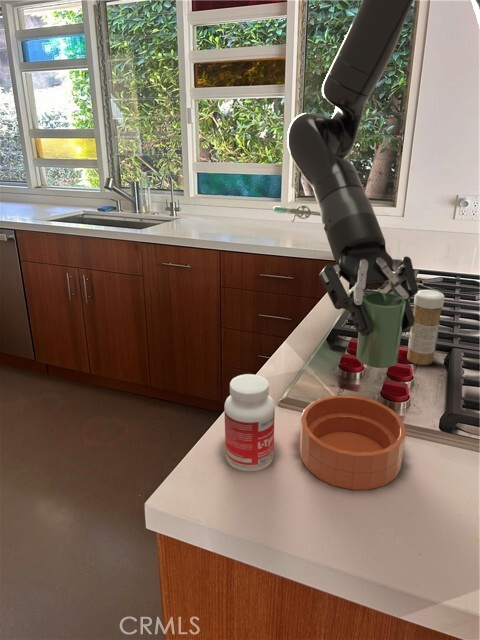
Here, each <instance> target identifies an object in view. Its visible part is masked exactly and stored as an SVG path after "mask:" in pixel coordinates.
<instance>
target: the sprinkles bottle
mask: <svg viewBox="0 0 480 640" xmlns="http://www.w3.org/2000/svg"><path fill="white" fill-rule="evenodd" d="M413 299H414V300H413V304H414V305H413V306H414V307H413V315H414V318H415V321H414V325H413V326H412V327H410V331H409V338H408V345H407V347H408V349H407V355H406V359H407V361H409V362H410V363H412V364H415V365H420V366H428V365H431V364H432V363H433V362H434V355H435V351H436V347H437V341H438V336H439V328H440V321H441V320H440V319H441V313H442V309H443V307H444V303H445V294H443V292H440V291H438V290H433V289H418V292H417V293H416V294H415V295H414V298H413Z"/></svg>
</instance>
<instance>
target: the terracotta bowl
mask: <svg viewBox="0 0 480 640" xmlns="http://www.w3.org/2000/svg"><path fill="white" fill-rule="evenodd" d="M299 431H300V433H299V453H300V459H301V461H302V463H303V464H304V466H305V468H306V469H307V470H308V472H310V473H311V474H313V475H314V476H315V477H316V478H317V479H319V480H320V481H323V482H325V483H327V484H329V485H331V486H334V487H338V488H342V489H347V490H351V491H354V490H355V491H359V490H360V491H366V490H367V491H369V490H373V489H377V488H381V487H384V486H386V485H388V484H390V482H393V480H395V479H396V477H397V476H398V475H399V473H400V471H401V468H402V461H403V454H404V448H405V442H406V425H405V424H404V421H403V419H402V418H401V416H399V414H397V412H395V411H394V410H393V409H392V408H390V407H388V406H386V405H385V404H383V403H382V402H379V401H376V400H373V399H370V398H367V397H362V396H356V395H351V394H350V395H349V394H348V395H347V394H346V395H343V394H341V395H340V394H339V395H336V394H335V395H330V396H325V397H321V398H318V399H317V400H315V401H312V402H310V403H309V404H308V406H306V407H305V408H304V409H303V411H302V414H301V417H300V430H299Z"/></svg>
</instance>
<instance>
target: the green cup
mask: <svg viewBox="0 0 480 640" xmlns="http://www.w3.org/2000/svg"><path fill="white" fill-rule="evenodd" d="M405 304H406V301H405V300H404V299H403V298H402V297H400V296H397V294H396V295H394V294H389V293H380V292H370V293H366V294H363V302H362V306H363V305H365V308H366V310H367V313H368V316H369V319H370V322H371V325H372V328H373V331H372V332H371V333H370V334H369V335H367V336H361V334H360V332H359V333H358V332H357V333H358V336H357V344H356V353H355V357H356V360H357V361H358V362H359V363H361V364H363V365H365V366H368V367H370V368H371V367H372V368H377V369H387V368H391V367H394V366H396V365H397V363H398V360H399V354H400V348H401V347H400V346H401V341H402V340H401V339H402V334H403V333H402V332H403V330H402V326H403V319H404V311H405Z"/></svg>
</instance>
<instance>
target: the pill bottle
mask: <svg viewBox="0 0 480 640" xmlns="http://www.w3.org/2000/svg"><path fill="white" fill-rule="evenodd" d="M269 393H270V383H269V381H268V379H266V378H265V377H264V376H261V375H259V374H252V373H246V374H245V373H244V374H240V375H237V376H235V377H233V378H232V379H231V380H230V382H229V396H227V397H226V400H225V402H224V409H223V411H224V437H225V438H224V443H225V446H224V447H225V459H226V461H227V463H228V464H229V465H230V466H231V467H233V468H234V469H236V470H239V471H243V472H258V471H261V470H263V469H265V468H267V467H268V466H270V465H271V463H272V462H273V460H274V456H275V455H274V454H275V408H276V407H275V406H276V405H275V402H274V399H273V398H272V397H271V395H270V394H269Z"/></svg>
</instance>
